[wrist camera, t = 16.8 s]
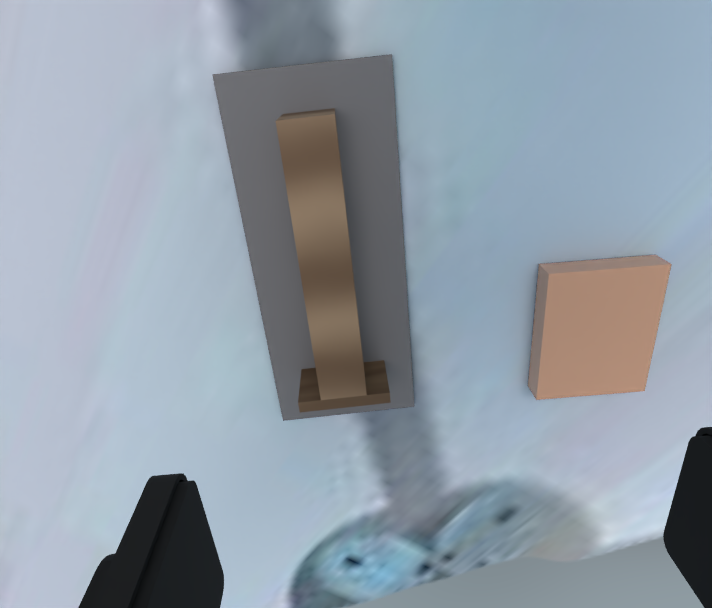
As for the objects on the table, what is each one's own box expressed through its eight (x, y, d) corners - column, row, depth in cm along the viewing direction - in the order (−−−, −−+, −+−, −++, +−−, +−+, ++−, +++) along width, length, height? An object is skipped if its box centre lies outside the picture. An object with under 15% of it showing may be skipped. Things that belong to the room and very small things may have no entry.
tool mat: (214, 74, 28) (212, 74, 28) (390, 54, 28) (392, 54, 28) (283, 415, 39) (283, 420, 38) (413, 401, 39) (414, 406, 38)
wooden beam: (256, 117, 29) (245, 124, 25) (360, 105, 29) (364, 110, 25) (303, 378, 37) (299, 412, 33) (385, 369, 36) (390, 402, 33)
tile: (548, 274, 33) (536, 399, 37) (671, 264, 33) (644, 390, 37) (537, 262, 35) (526, 383, 39) (653, 253, 35) (629, 375, 39)
